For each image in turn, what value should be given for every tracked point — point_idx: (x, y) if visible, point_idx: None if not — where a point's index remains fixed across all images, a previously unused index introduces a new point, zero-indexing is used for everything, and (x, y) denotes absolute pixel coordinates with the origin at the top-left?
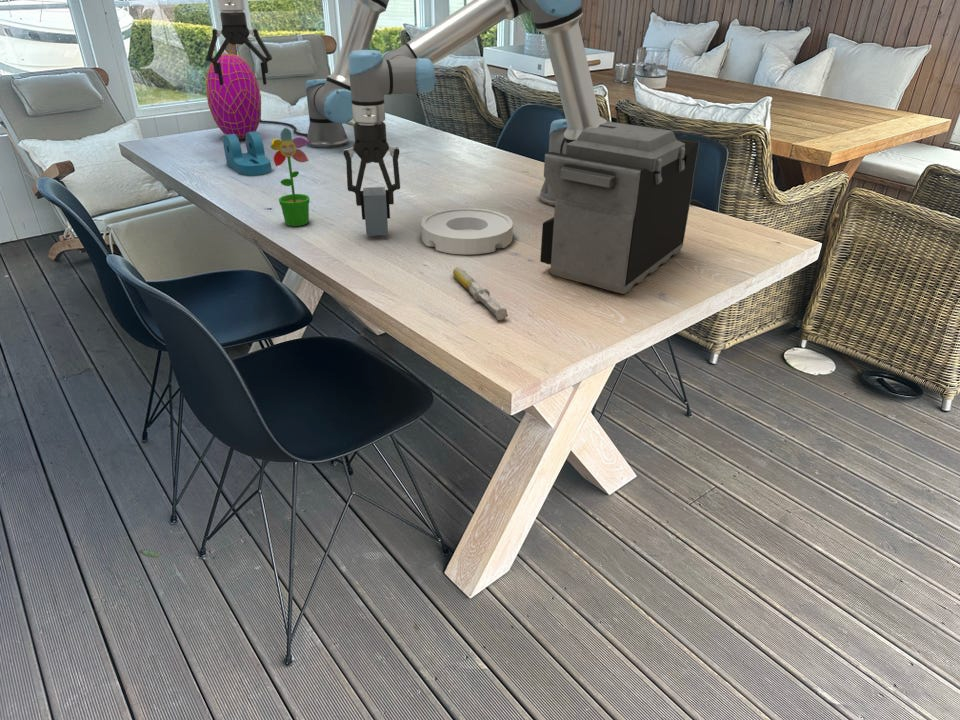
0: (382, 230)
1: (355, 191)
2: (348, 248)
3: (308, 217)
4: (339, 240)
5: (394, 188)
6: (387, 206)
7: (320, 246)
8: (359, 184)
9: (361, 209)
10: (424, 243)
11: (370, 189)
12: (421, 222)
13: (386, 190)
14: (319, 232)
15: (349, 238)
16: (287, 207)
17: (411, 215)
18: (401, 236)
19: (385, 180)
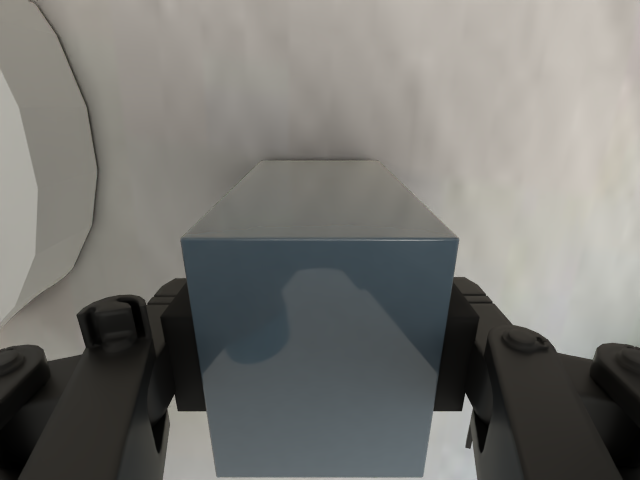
0: (289, 163)
1: (546, 341)
2: (479, 53)
3: None
4: (505, 180)
5: (70, 369)
6: None
7: (615, 105)
8: (540, 408)
9: None
10: (66, 59)
11: (357, 428)
12: (32, 169)
13: (193, 395)
14: (575, 292)
15: (454, 201)
16: None
17: (178, 427)
18: (203, 197)
19: (109, 454)
